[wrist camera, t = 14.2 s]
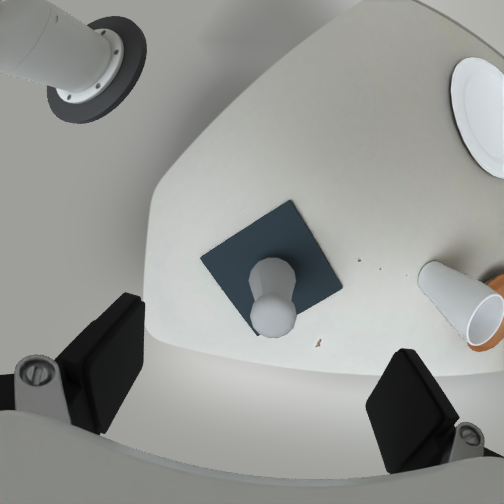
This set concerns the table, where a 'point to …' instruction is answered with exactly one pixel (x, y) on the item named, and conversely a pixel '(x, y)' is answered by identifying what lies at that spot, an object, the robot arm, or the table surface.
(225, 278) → the mat
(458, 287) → the drinking glass
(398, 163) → the table surface
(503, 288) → the pie
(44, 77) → the robot arm
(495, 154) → the plate
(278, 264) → the salt shaker
